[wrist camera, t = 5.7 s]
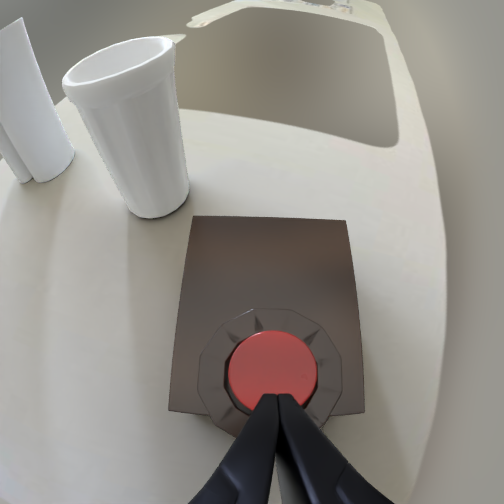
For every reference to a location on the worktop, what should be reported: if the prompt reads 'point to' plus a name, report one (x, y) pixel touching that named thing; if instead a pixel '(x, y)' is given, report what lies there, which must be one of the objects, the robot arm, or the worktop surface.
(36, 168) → the vase
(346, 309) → the switch block
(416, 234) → the worktop surface
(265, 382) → the led button
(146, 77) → the cup
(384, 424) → the worktop surface
